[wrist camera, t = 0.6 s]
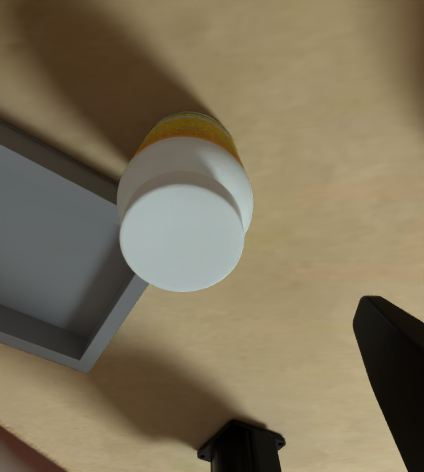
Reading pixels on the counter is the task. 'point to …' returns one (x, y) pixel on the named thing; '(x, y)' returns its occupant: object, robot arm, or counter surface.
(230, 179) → the supplement bottle
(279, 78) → the counter surface
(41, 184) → the tray
